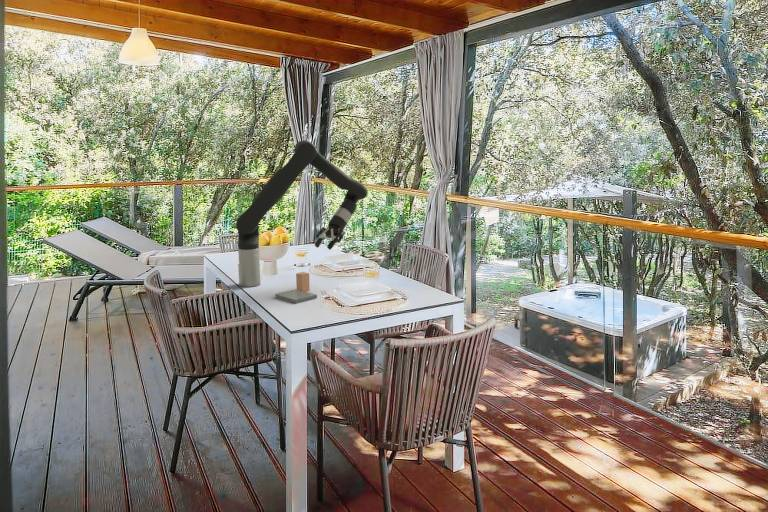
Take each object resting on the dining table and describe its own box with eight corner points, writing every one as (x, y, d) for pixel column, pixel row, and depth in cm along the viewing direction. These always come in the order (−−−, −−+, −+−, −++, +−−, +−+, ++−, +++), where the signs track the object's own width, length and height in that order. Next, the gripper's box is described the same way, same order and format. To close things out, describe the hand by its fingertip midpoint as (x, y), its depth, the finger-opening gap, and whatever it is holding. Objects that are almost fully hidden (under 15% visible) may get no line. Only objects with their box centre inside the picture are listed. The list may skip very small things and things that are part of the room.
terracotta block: (296, 291, 241) (296, 273, 239) (303, 289, 244) (303, 271, 242) (302, 292, 238) (301, 274, 237) (309, 290, 241) (309, 273, 240)
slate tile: (275, 297, 230) (275, 294, 230) (295, 292, 238) (295, 289, 238) (296, 303, 221) (296, 299, 221) (316, 298, 229) (316, 294, 229)
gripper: (325, 213, 255) (307, 240, 248) (346, 215, 245) (328, 244, 239) (334, 223, 259) (316, 250, 253) (355, 225, 250) (337, 254, 244)
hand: (322, 247), depth 246 cm, fingers open, 8 cm apart
